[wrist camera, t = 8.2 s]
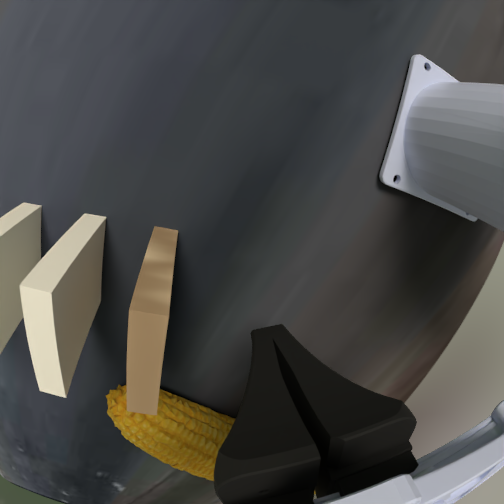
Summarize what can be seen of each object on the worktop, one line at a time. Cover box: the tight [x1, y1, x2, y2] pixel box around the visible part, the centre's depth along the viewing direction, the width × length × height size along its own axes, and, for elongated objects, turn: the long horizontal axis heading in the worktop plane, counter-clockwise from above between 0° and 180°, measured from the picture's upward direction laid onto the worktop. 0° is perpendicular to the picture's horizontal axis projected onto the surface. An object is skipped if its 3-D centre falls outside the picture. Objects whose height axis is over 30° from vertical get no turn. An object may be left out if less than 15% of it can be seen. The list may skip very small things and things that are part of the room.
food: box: [106, 384, 316, 494], centre depth 20 cm, size 21×6×6 cm, turn 46°
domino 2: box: [20, 214, 106, 398], centre depth 12 cm, size 1×5×7 cm, turn 164°
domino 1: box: [0, 203, 42, 354], centre depth 11 cm, size 1×5×7 cm, turn 165°
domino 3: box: [127, 227, 178, 415], centre depth 13 cm, size 1×5×7 cm, turn 165°
